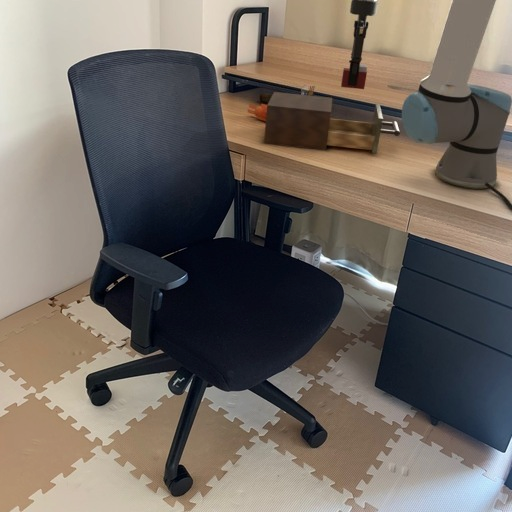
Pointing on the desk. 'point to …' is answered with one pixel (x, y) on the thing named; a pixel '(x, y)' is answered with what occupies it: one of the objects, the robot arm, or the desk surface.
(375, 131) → the drawer
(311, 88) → the utensil holder
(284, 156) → the desk surface
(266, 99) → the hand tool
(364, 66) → the red base white blocks
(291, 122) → the cabinet
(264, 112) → the orange toy bird
